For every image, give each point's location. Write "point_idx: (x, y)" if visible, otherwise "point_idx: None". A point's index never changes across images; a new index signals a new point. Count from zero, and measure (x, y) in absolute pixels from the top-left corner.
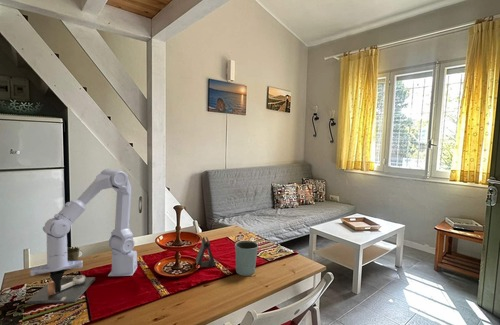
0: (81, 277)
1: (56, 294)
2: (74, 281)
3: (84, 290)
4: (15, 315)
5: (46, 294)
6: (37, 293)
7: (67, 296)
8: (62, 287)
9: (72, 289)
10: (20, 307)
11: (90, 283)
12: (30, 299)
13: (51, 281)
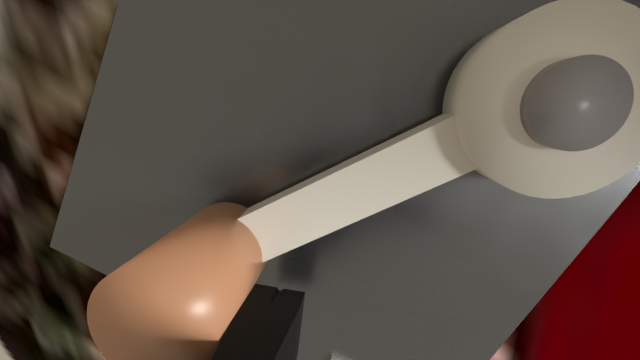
0: (606, 128)
1: (271, 262)
2: (473, 161)
3: (526, 293)
4: (51, 349)
5: (182, 209)
6: (95, 136)
7: (366, 354)
8: (319, 235)
9: (420, 243)
10: (45, 260)
11: (632, 170)
12: (67, 231)
13: (131, 291)
